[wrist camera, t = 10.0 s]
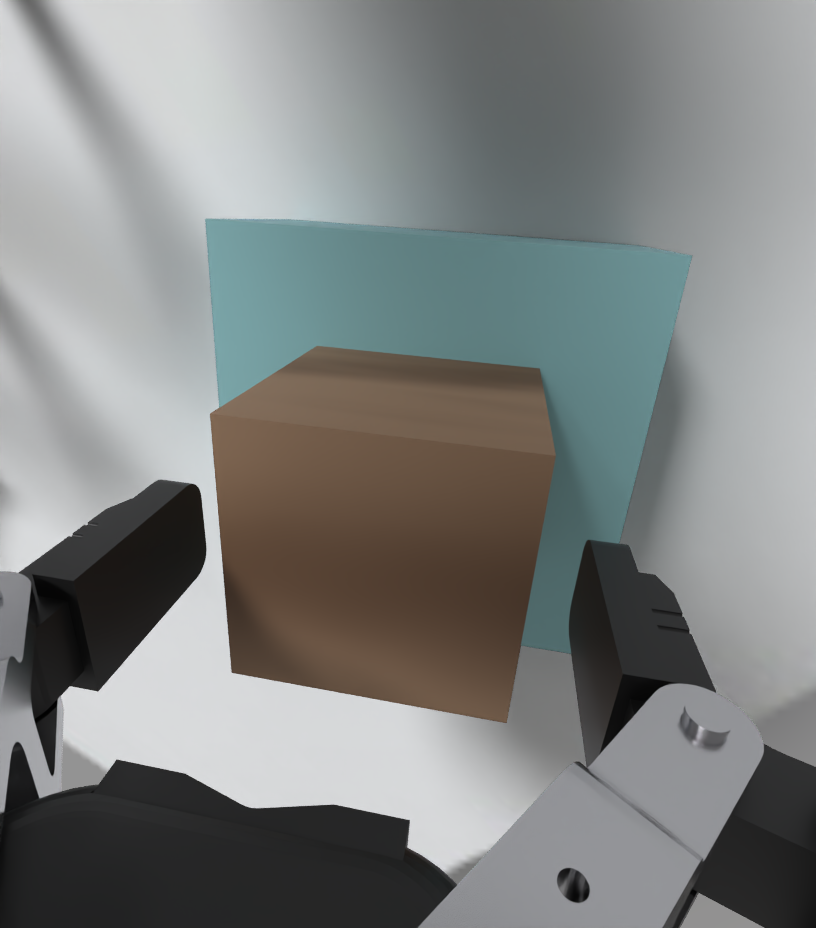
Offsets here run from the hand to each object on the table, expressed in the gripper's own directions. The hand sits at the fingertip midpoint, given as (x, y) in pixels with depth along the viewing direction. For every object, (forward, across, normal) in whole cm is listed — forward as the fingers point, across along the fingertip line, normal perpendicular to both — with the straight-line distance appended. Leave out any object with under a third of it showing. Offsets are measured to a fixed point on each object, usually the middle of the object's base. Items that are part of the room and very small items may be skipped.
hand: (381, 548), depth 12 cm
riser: (+11, 0, 0) cm, 11 cm away
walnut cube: (+5, 0, 0) cm, 5 cm away
